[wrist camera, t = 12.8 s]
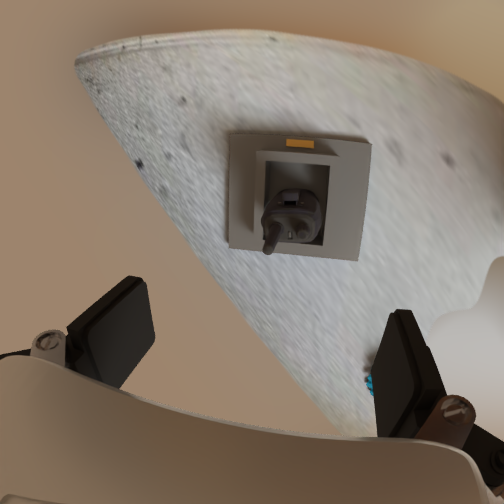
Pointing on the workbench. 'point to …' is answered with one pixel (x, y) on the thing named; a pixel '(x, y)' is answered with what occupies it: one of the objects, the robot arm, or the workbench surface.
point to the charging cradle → (301, 177)
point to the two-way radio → (291, 218)
